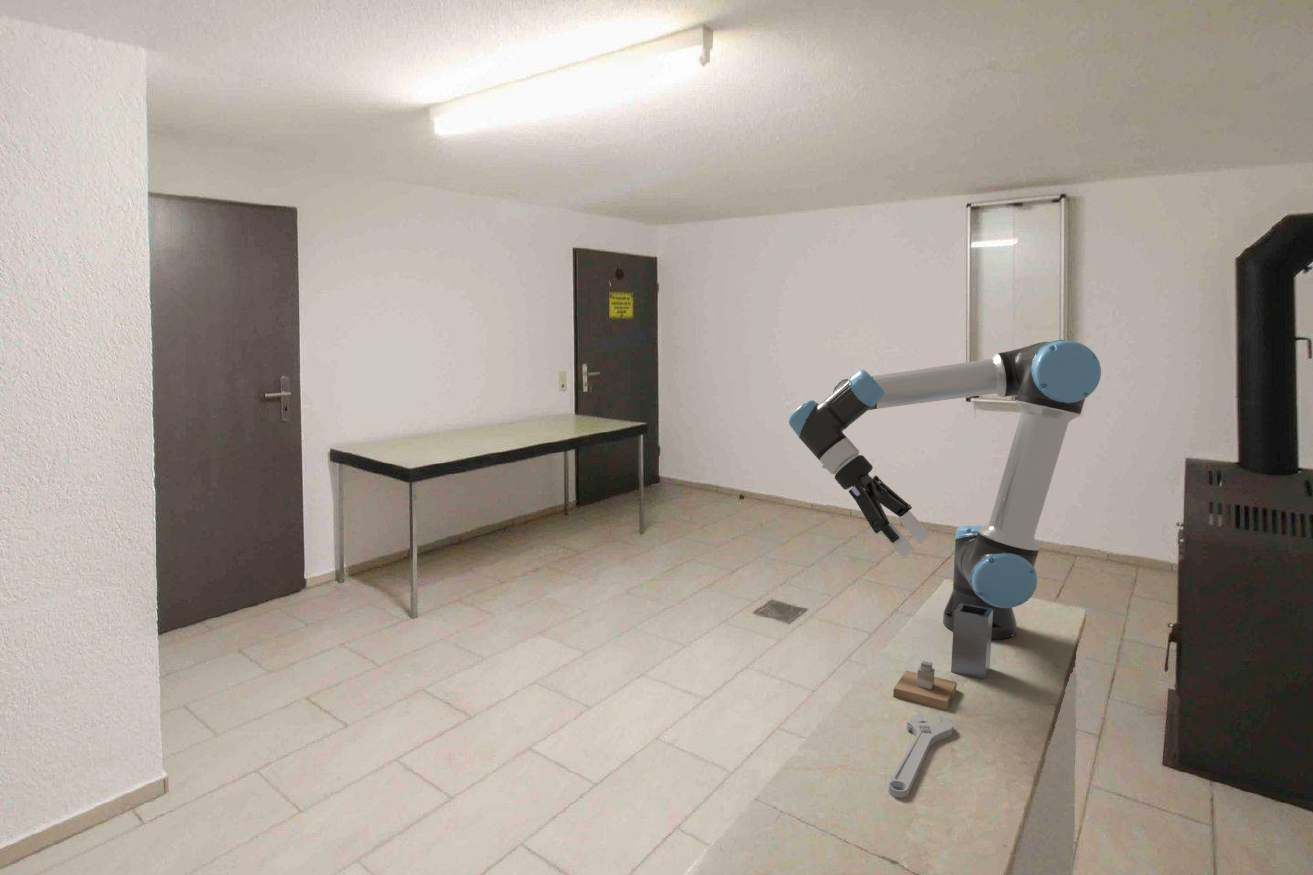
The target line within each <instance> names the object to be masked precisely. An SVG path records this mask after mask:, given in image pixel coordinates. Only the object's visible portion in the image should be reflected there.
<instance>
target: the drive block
mask: <svg viewBox="0 0 1313 875" xmlns="http://www.w3.org/2000/svg"><path fill="white" fill-rule="evenodd" d="M935 669H936V668H934V667H933V661H929V660H925V659H923V660H922V661H921V663H920V666H919V668H918V669H917V672H914V671H910V670H905V671H904V673H903V674H902V675H901V677H900V678H899V680H898V681H897V683H896V684H895V685H894V687H893V695H892V697H894V698H897V699H901V700H905V701H909V702H914V703H917V704H921V705H925V706H929V707H933V708H938V709H941V710H945V711H946V710H947V709H948V707H949V705H950V703H951V702H952V699H953V698H954V695H955V694H956V692H957V685H958V682H957V681H953V680H950V679H949V680H948V679H946V678H945V679H944V678H941V677H936V676H935V671H936V670H935Z"/></svg>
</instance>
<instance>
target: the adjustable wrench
mask: <svg viewBox="0 0 1313 875" xmlns="http://www.w3.org/2000/svg"><path fill="white" fill-rule="evenodd" d="M953 724H954V723H953V722H952V721H951V720H950V718H948V717H947V716H944V715H939V723H938V722H937V723H932V722H931V723H929V722H926V720H925V717H924V715H923V713H917V714H915V715H913V716H912V717H911V718H910V719H909V721H906V729H907V731H908V732H910V733H912V734H913V735H914V737H915V738H914V739H913V741H912V743H911V744H910V746H909V748H907V751H906V752H905V754H904V756H903V758H902V760H901V761H900V763H899V764H898V766H897V767H896V770H895V771H894V773H893V774H892V776H891V778H890V780H889V781H888V786H887V787H888V788H887V790H888V793H889V795H890V796H892V797H894V798H898V799H904V798H906V797H908V795H909V793H910V792H911V789H912V788H913V785H914V782H915V781H916V778H917V776H918V774H919V772H920V770H921V768H922V765H923V763H924V761H925V759H926V756H927V754H928V752H929V750H930V748H931V746H932V745H933V744H936V742H939V741H941V740H943V739H947V738H948V737H951V736H952V735H953V730H954V725H953Z"/></svg>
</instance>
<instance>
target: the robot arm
mask: <svg viewBox="0 0 1313 875" xmlns="http://www.w3.org/2000/svg"><path fill="white" fill-rule="evenodd" d="M1101 376H1102V367H1101V363H1100V360H1099V358H1098V357H1097V355H1096V354H1095V353H1094V351H1093V350H1092V349H1090V348H1089V347H1088V346H1087V345H1084V344H1083V343H1080V342H1077V341H1073V340H1070V339H1069V340H1065V339H1056V340H1053V341H1052V340H1051V341H1042V342H1041V341H1040V342H1038V343H1037V342H1036V343H1034V344H1030V345H1027V346H1024V347H1021V348H1016V349H1013V350H1008V351H1003V352H997V353H994V354H993V355H992V356H991V358H987V359H986V358H985V359H981V360H974V361H973V360H972V361H967V362H966V361H965V362H961V363H958V362H957V363H953V364H946V365H938V366H932V367H926V368H919V369H912V370H911V369H910V370H905V371H898V372H897V371H895V372H892V373H883V374H878V375H877V374H876V375H872V376H871V374H870V373H869V372H868V371H867V370H865V369H859V370H858V371H856V372H855V373H854V374H852V375H851V376H850V377H849V378H845V379H842V380H841V381H839V382H838V383H836V385H835V387H834V388H833V391H832V393H831V394H829V396H827V398H825V399H824V400H823V401H821V402H816V401H815V400H813V399H810V400H807V401H805V402H804V403H803V404H802V405H799V406H798V407H797V408H796V409H795V410H794V411H793V412H792V414H790V416H789V418H788V424H789V426H790V428H791V429H792V430H793V431H794V433H795V434H796V435H797V438H798V439H799V440H800V441H802V443H803V444H804V445H805V446H806V447H807V449H808V450H810V452H811V453H812V455H814V456H815V458H817V460H818V461H819V462H820V463H821V464H822V465H821V467H822V469H824V470H825V469H826V470H827V471H828V472H829V473H830V474H831V475H834V480H835V481H836V482H837V483H838V485H840V487H841V488H842V489H843V490H844V491H847V490H848V493H849V494H850V495H851V497H852V498H853V500H855V502H856V504H857V506H858V507H859V509H860V511H861V513H862V514H863V516H864V517H865V519H866V521H867V522H868V524H869V526H870V527H871V529H872V530H873V532H874V533H875V534H879V533H881V534H882V535H883V536H884V538H885V539H886V540H888V542H889V543H890V545H891V546H893V548H895V550H896V551H897V552H898V553H899V555H900V556H901V557H902V558H903V559H904V558H906V557H907V556H909V555H910V554H911V553H912V552H914V551H915V550H916V548H915V547H914V545H912V544H911V542H910V541H909V540H908V539H907V538H906V536H904V534H903V533H902V532H901V531H900V530H899V528H898V527H897V526H896V525H895V524H894V522H891V523H890V520H889V519H888V517H887V515H886V513H885V511H884V508H883V507H885V508H886V509H888V511H890V512H892V513H893V514H895V515H896V516H898V517H899V518H898V520H899V521H900V523H902V524H903V526H904V527H905V528H906V529H907V530H908V531H909V533H910V534H911V535H912V537H914V538H915V540H916V541H917V542H918V543H919V544H922V543H923V542H924V541H926V540H927V539H928V538H929V537H930V536H932V534H931V533H930V532H929V530H927V529H926V527H925V526H924V525H923V524H922V523H921V522H920V521H919V520H918V518H917V517H916V516H915V515H914V514H913V513H912V512H911V511H910V510H911V509H912V508H913V506H912V505H911V504H909V503H908V502H907V501H905V499H903V498H902V497H901V496H900V495H898V494H897V493H896V492H895V491H894V490H893V489H891V488H890V487H889V486H888V485H887V484H886V483H884V482H883V481H882V479H881V478H880V477H879V476H877V475H876V474H875V475H874V476H873V477H872V476H870V472H871V471H872V470H873V464H871V463H870V462H869V460H867V458H866V457H865V456H864V455H863V454H860V450H859V449H858V447H857V446H855V444H854V443H853V442H852V441H851V440H850V438H848V437H847V436H846V435H845V434H844V430H847V428H848V427H849V426H850V425H852V424H853V423H854V422H855V421H857V420H858V419H859V418H860V417H861V416H862V415H864V414H866V412H868V411H873V410H874V411H875V410H880V409H886V408H887V409H888V408H893V407H901V406H908V405H909V406H910V405H915V404H916V405H918V404H924V403H932V402H939V401H948V400H956V399H963V398H969V397H970V398H971V397H977V396H986V395H994V394H995V395H996V396H998V397H999V398H1005V397H1006V398H1007V397H1016V399H1015V404H1016V405H1017V406H1018V408H1019V410H1020V415H1019V418H1018V422H1017V426H1016V429H1015V433H1014V436H1013V440H1012V443H1011V447H1010V448H1009V453H1008V455H1007V456H1008V457H1007V461H1006V464H1005V468H1004V471H1003V473H1002V478H1001V480H1000V483H999V484H1000V485H999V488H998V490H997V495H996V498H995V501H994V503H993V508H992V512H991V515H990V518H989V520H988V521H989V522H988V524H987V525H986V526H985V525H984V526H983V525H962V526H960V527H958V528H956V531H955V537H954V557H953V559H954V560H953V561H954V563H953V564H954V565H953V581H952V582H953V584H952V591H951V594H950V596H949V597H948V598H949V599H948V601H947V603H946V606H945V608H944V611H943V614H942V618H943V619H942V623H943V625H944V627H945V628H947V629H948V630H950V631H952V632H953V624H954V611H955V610H956V608H957V607H958V605H959V604H960V603H963V604H969V605H974V606H980V607H986V608H992V609H993V619H992V637H991V640H1005V639H1009V638H1008V637H1010V638H1012V637H1013V636H1012V635H1014V634H1015V633H1017V626H1018V625H1017V624H1018V623H1017V620H1016V616H1015V612H1014V609H1013V608H1016V607H1019V606H1021V605H1023V604H1024V603H1027V602H1028V601H1029V600H1030V599H1031V598H1032V597H1033V595H1034V594H1035V592H1036V589H1037V586H1038V576H1037V575H1038V574H1037V571H1036V568H1035V565H1036V562H1037V559H1038V555H1039V552H1040V549H1041V547H1040V546H1039V544H1038V542H1037V540H1036V539H1035V535H1036V532H1037V529H1038V526H1039V522H1040V520H1041V519H1040V518H1041V516H1042V512H1043V509H1044V506H1045V502H1046V500H1047V495H1048V492H1049V490H1050V486H1051V482H1052V479H1053V476H1054V473H1055V470H1056V467H1057V466H1056V465H1057V462H1058V459H1059V456H1060V453H1061V450H1062V447H1063V446H1062V445H1063V444H1064V440H1065V437H1066V432H1067V429H1068V427H1069V423H1071V421H1073V420H1075V419H1076V418H1078V417H1080V416H1081V414H1082V411H1083V410H1082V409H1083V407H1084V404H1085V401H1086V398H1088V397H1089V396H1091V395H1092V393H1094V391H1095V390H1096V389H1097V387H1098V386H1099V384H1100V381H1101ZM882 506H883V507H882ZM1015 635H1016V634H1015ZM1015 635H1014V636H1015ZM1011 636H1012V637H1011Z"/></svg>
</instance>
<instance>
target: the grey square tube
mask: <svg viewBox="0 0 1313 875" xmlns="http://www.w3.org/2000/svg"><path fill="white" fill-rule="evenodd" d="M992 619H993V609H992V608H986V607H980V606H974V605H969V604H963V603H960V604H959V605H958V607H957V608H956V610H955V611H954V624H953V631H952V643H951V644H952V645H951V647H952V648H951V649H952V650H951V662H950V663H951V665H950V666H951V667H950V672H951V673H955V674H960V675H964V676H968V677H972V678H976V679H983V680H986V678H987V675H988V673H989V671H990V670H991V669H990V666H991V653H992V651H991V650H992V639H991V637H992Z"/></svg>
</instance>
